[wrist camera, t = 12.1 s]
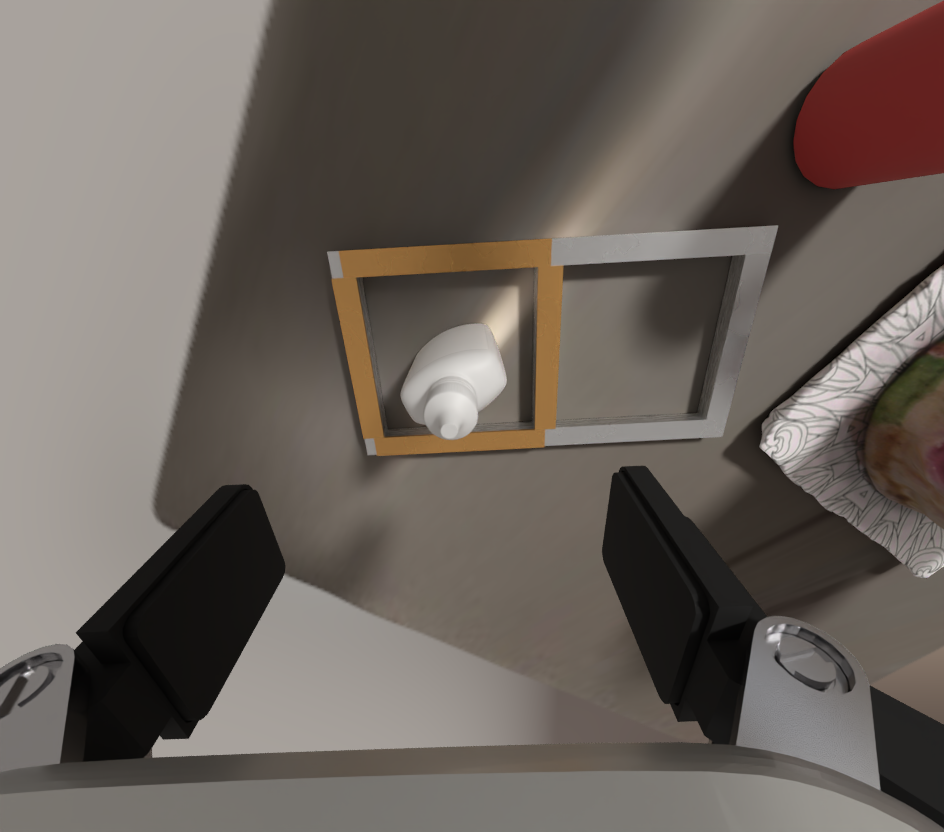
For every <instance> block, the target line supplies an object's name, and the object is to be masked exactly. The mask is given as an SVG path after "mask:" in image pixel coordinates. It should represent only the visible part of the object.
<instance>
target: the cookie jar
mask: <svg viewBox="0 0 944 832" xmlns="http://www.w3.org/2000/svg"><path fill="white" fill-rule="evenodd" d="M759 447H760V448H761V449H762V450H763V451H764V452H765V453H767V454H768V455H769V456H770V457H771V458H772V459H773V460H774V461H775V462H776V463H777V464H778V465H779V467H780V468H781V470H782V471H783V473H784V474H785V475H786V476H787V477H788V478H789V479H790V480H791V481H792V482H793V483H795V484H797V485H798V486H801V487H802V488H803V490H804V491H805V492H807V493H809V494H811V495H813V496H814V497H815V498H816V499H817V501H818V502H819V503H820V504H821V505H822V506H823V507H824V508H825V509H827V510H829V511H831V512H832V511H833V512H834V513H835V514H837V515H839V516H843V517H845V518H846V519H847V521H848V523H851V524H852V525H853V526H855V527H856V528H857V529H858V530H859V531H861V532H862V533H864V534H866V535H867V536H868V537H869V538H870V539H871V540H873V541H876V542H877V543H879V544H880V545H882V546H883V547H885V548H886V549H887V550H888V551H889V552H890V553H891V554H892V555H894V556H895V557H896V558H897V559H898V560H899V561H900V562H902V563H903V564H904V565H906V566H907V568H908V569H909V570H910V571H911V573H912V574H913V575H914V576H917V577H922V578H928V577H929V576H931V575H932V574H933V573H935V572H936V571H938V570H939V569H940V568H942V567H943V566H944V265H943V266H941V267H940V268H939V269H937V270H936V271H934V272H933V273H932V274H931V275H929V276H928V277H927V278H926V279H925V280H924V281H922V282H921V283H920V284H919V285H918V286H917V287H916V288H914V289H913V290H912V291H911V292H910V293H909V294H908V295H907V296H905V297H904V298H903V299H902V300H901V301H900V302H898V303H897V304H896V305H895V306H894V307H893V308H891V309H890V310H889V311H888V312H887V313H886V314H884V315H883V316H882V317H881V318H880V319H879V320H877V321H876V322H875V323H874V324H873V325H872V326H871V327H869V328H868V329H867V330H866V331H865V332H864V333H863V334H862V335H860V336H859V337H858V338H857V339H856V340H855V341H854V342H852V343H851V344H850V345H849V346H848V347H847V348H846V349H844V350H843V351H842V352H841V353H840V354H839V355H838V356H836V357H835V358H834V359H833V360H832V361H831V362H830V363H828V364H827V365H826V366H825V367H824V368H823V369H821V370H820V371H819V372H818V373H817V374H816V375H815V376H814V377H812V378H811V379H810V380H809V381H808V382H807V383H806V384H805V385H804V386H802V387H801V388H800V389H799V390H798V391H797V392H796V393H795V394H794V395H793V396H791V397H790V398H789V399H787V400H786V401H784V402H783V403H782V404H780V405H779V406H778V407H776V408H775V409H773V410H772V411H771V413H770V414H769V415H768V416H767V418H766V419H765V421H764V422H763V423H762V439H761V443H760V446H759Z"/></svg>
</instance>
